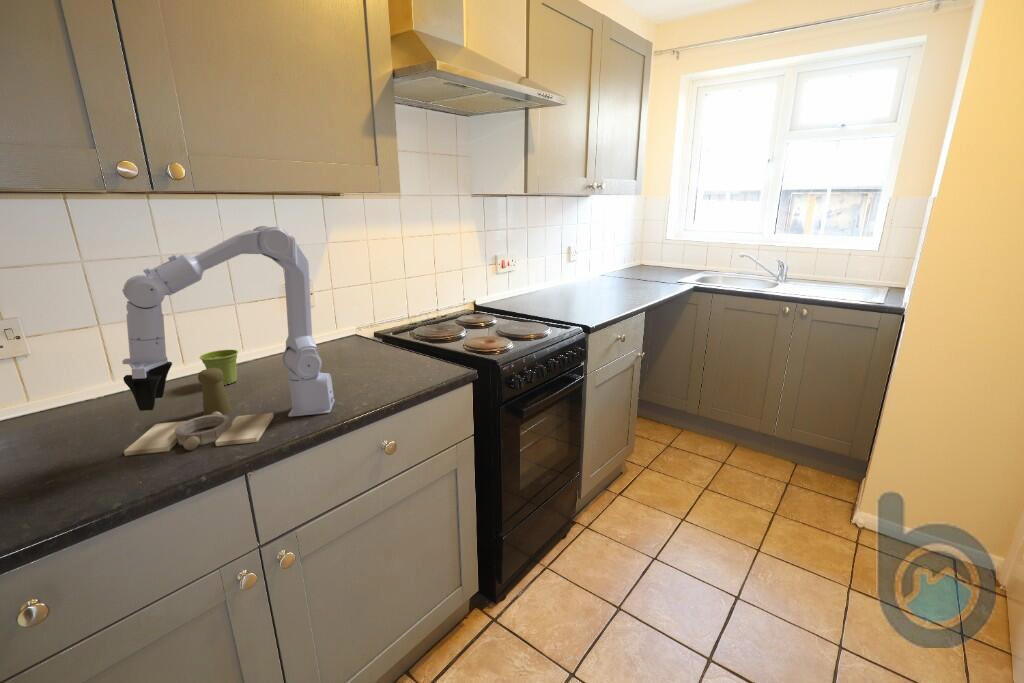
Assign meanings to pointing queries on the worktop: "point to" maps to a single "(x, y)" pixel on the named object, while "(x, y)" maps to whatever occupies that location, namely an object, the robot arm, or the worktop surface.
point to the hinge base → (201, 433)
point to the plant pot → (222, 363)
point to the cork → (214, 392)
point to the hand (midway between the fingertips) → (151, 403)
